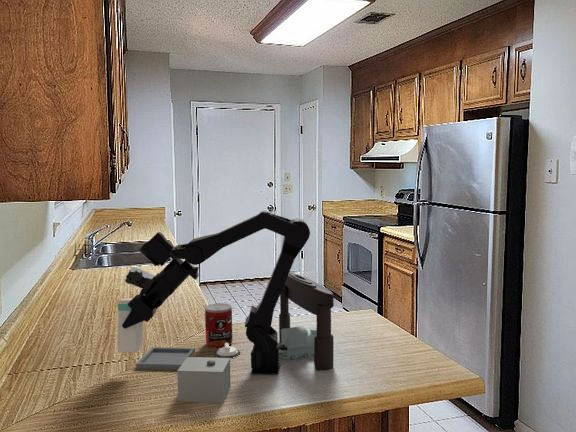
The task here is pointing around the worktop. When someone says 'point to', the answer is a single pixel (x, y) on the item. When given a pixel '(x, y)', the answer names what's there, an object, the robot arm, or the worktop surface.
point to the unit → (204, 379)
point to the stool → (298, 338)
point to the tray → (164, 358)
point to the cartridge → (128, 330)
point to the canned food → (218, 324)
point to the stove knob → (227, 352)
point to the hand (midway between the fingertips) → (126, 324)
